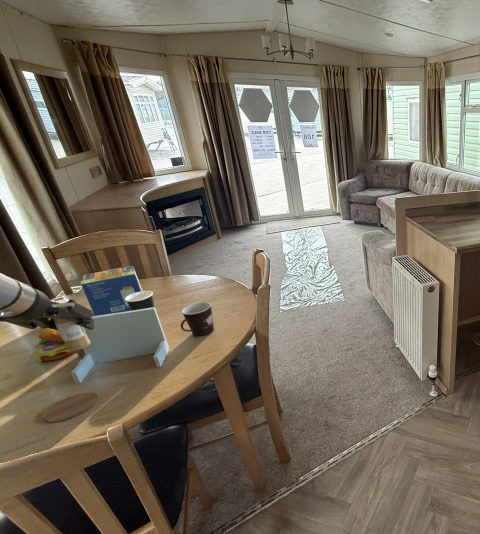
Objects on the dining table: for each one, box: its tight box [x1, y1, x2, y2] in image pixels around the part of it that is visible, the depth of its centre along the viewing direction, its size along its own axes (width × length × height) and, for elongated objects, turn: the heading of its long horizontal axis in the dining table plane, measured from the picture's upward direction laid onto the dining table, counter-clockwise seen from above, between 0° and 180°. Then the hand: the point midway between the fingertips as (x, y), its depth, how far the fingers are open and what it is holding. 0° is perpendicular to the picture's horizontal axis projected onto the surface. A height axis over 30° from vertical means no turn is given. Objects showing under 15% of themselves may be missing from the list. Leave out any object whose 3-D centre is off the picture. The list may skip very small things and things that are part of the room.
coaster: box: [43, 391, 99, 423], centre depth 90 cm, size 10×10×1 cm
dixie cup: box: [125, 290, 155, 311], centre depth 126 cm, size 8×8×11 cm
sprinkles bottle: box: [53, 298, 90, 352], centre depth 88 cm, size 5×5×13 cm
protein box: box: [80, 265, 143, 316], centre depth 133 cm, size 10×15×16 cm
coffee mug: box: [180, 301, 215, 338], centre depth 119 cm, size 12×9×10 cm
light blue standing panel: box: [70, 306, 170, 385], centre depth 102 cm, size 20×10×16 cm, turn 114°
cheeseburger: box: [34, 328, 77, 363], centre depth 109 cm, size 10×11×10 cm
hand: (80, 326), depth 93 cm, fingers closed on sprinkles bottle, 4 cm apart
